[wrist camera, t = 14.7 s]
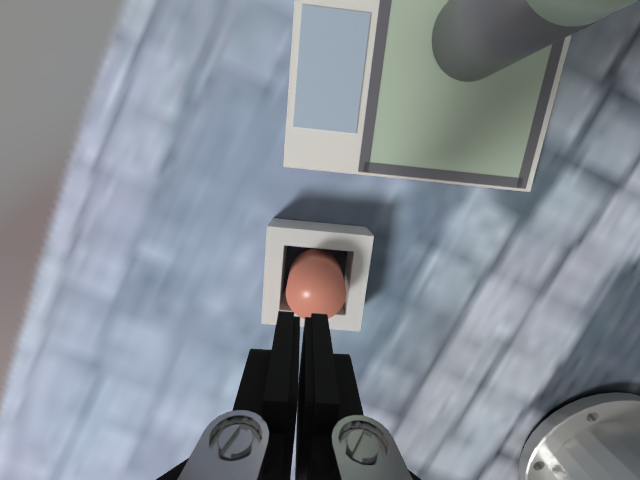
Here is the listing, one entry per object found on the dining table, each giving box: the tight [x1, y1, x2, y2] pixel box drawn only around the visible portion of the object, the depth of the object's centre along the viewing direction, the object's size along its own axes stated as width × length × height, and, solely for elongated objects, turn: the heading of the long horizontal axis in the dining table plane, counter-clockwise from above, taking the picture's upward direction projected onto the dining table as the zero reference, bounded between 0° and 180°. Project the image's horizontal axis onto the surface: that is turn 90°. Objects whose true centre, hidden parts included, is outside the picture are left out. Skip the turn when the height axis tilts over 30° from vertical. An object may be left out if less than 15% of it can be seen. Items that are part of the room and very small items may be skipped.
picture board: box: [283, 0, 572, 192], centre depth 17 cm, size 15×16×1 cm
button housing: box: [261, 218, 374, 331], centre depth 19 cm, size 6×6×3 cm
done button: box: [286, 249, 346, 319], centre depth 18 cm, size 3×3×3 cm
